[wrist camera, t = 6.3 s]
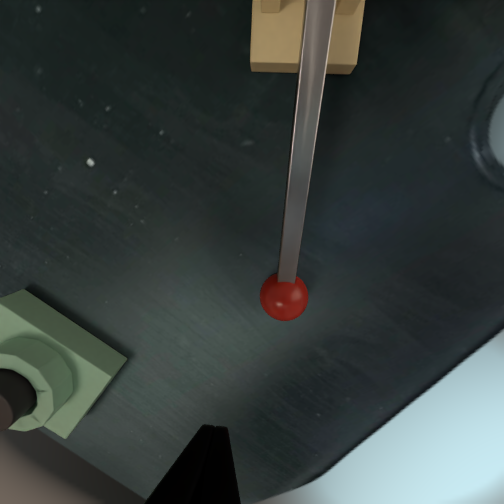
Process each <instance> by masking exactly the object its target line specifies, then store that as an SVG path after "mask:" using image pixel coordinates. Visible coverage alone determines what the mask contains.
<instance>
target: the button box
mask: <svg viewBox="0 0 504 504" xmlns="http://www.w3.org/2000/svg"><path fill="white" fill-rule="evenodd" d="M126 361H127V358H126V357H124V356H123V355H122V354H120V353H119V352H117V351H116V350H114V349H113V348H111V347H110V346H108V345H107V344H105V343H104V342H102V341H101V340H99V339H98V338H96V337H95V336H93V335H92V334H90V333H89V332H87V331H86V330H84V329H83V328H81V327H80V326H78V325H77V324H75V323H74V322H72V321H71V320H69V319H68V318H66V317H65V316H63V315H62V314H60V313H59V312H57V311H56V310H55V309H53V308H52V307H50V306H49V305H47V304H46V303H44V302H43V301H41V300H40V299H38V298H37V297H35V296H34V295H32V294H31V293H29V292H28V291H26V290H25V289H23V290H20V291H17V292H15V293H12V294H10V295H7V296H5V297H2V298H0V369H3V368H5V369H11V370H14V371H16V372H17V373H19V374H20V375H22V376H24V377H25V378H27V379H28V380H29V382H30V383H31V385H32V386H33V387H34V389H35V390H36V395H37V400H36V403H35V404H34V406H33V407H31V408H30V409H29V410H28V411H27V412H26V413H25V414H24V415H23V416H21V417H20V418H19V419H18V420H17V421H16V422H15V423H14V424H13V425H12V426H10V427H9V428H8V429H14V430H20V431H28V430H31V429H34V428H37V427H41V426H45V427H46V428H48V429H50V430H51V431H53V432H55V433H56V434H58V435H59V436H61V437H63V438H64V439H67V437H68V436H69V435H70V434H71V433H72V431H73V430H74V429H75V428H76V426H77V425H78V424H79V423H80V422H81V420H82V419H83V418H84V417H85V415H86V414H87V413H88V411H89V410H90V409H91V407H92V406H93V405H94V403H95V402H96V401H97V399H98V398H99V397H100V395H101V394H102V393H103V391H104V390H105V389H106V387H107V386H108V385H109V383H110V382H111V381H112V379H113V378H114V377H115V375H116V374H117V373H118V371H119V370H120V369H121V367H122V366H123V365H124V363H125V362H126Z"/></svg>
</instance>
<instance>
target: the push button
mask: <svg viewBox="0 0 504 504" xmlns="http://www.w3.org/2000/svg"><path fill="white" fill-rule="evenodd" d="M36 400H37V395H36V390H35V389H34V387H33V386H32V385H31V383H30V382H29V380H28V379H27V378H25V377H24V376H22V375H20V374H19V373H17V372H16V371H14V370H11V369H5V368H3V369H0V431H4V430H6V429H8V428H9V427H10V426H12V425H13V424H14V423H15V422H16V421H17V420H18V419H19V418H20V417H21V416H23V415H24V414H25V413H26V412H27V411H28V410H29V409H30V408H31V407H33V406H34V404H35V403H36Z"/></svg>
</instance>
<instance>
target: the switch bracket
mask: <svg viewBox="0 0 504 504" xmlns="http://www.w3.org/2000/svg"><path fill="white" fill-rule="evenodd" d="M364 5H365V0H336V6H335V13H334V20H333V27H332V34H331V41H330V47H329V54H328V61H327V68H326V74H350V73H351V72H352V70H353V69H354V67H355V66H356V64H357V58H358V50H359V43H360V35H361V27H362V20H363V12H364ZM303 10H304V0H253V2H252V26H251V50H250V65H251V71H252V72H283V73H297V70H298V60H299V50H300V40H301V30H302V20H303Z"/></svg>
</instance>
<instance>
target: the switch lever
mask: <svg viewBox="0 0 504 504" xmlns="http://www.w3.org/2000/svg"><path fill="white" fill-rule="evenodd" d="M335 6H336V0H304V10H303V20H302V30H301V40H300V50H299V60H298V70H297V80H296V90H295V100H294V110H293V120H292V130H291V141H290V151H289V161H288V171H287V181H286V191H285V201H284V211H283V221H282V231H281V241H280V251H279V261H278V271H277V273H275V274H273V275H271V276H270V277H268V278H267V279H266V280H265V282H264V283H263V285H262V287H261V290H260V302H261V305H262V307H263V309H264V310H265V312H266V313H267V314H268V315H269V316H271V317H272V318H274V319H276V320H280V321H289V320H293V319H295V318H297V317H298V316H300V315H301V314H302V313H303V312H304V310H305V308H306V306H307V303H308V291H307V288H306V286H305V284H304V282H303V281H302V280H301V279H300V278H299V277H297V276H296V273H297V266H298V259H299V253H300V246H301V239H302V232H303V225H304V218H305V212H306V205H307V198H308V191H309V184H310V177H311V171H312V164H313V157H314V150H315V143H316V136H317V130H318V123H319V116H320V109H321V102H322V95H323V88H324V82H325V75H326V68H327V61H328V54H329V47H330V41H331V34H332V27H333V20H334V13H335Z"/></svg>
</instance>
